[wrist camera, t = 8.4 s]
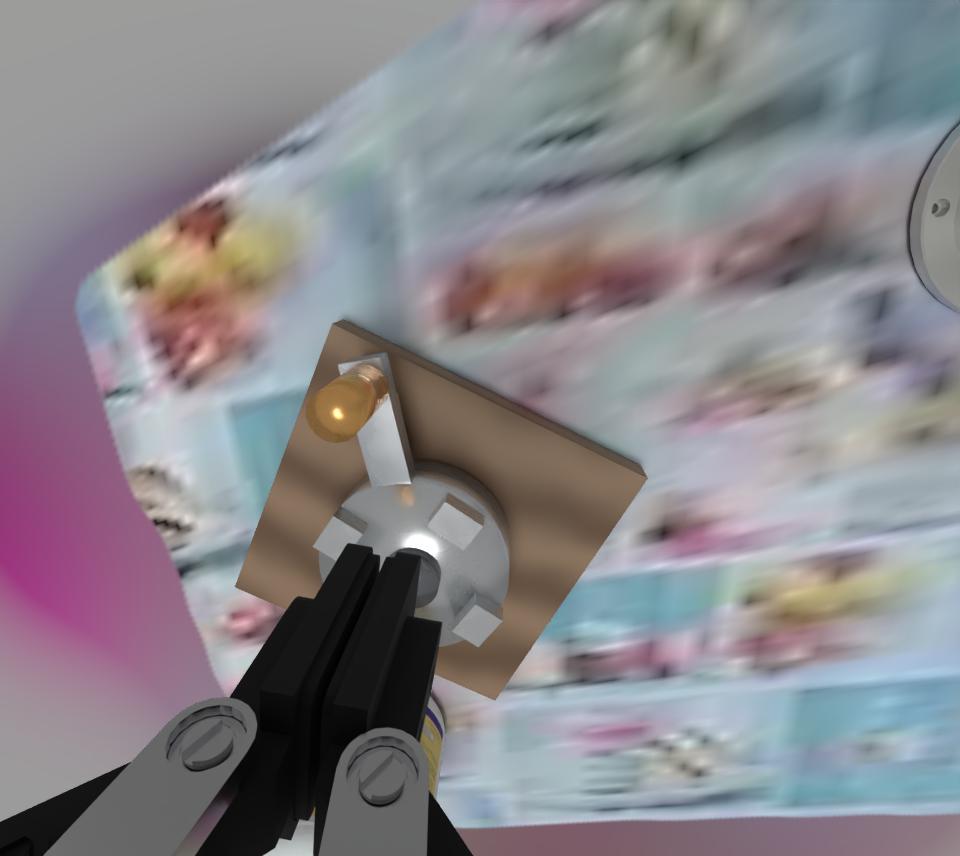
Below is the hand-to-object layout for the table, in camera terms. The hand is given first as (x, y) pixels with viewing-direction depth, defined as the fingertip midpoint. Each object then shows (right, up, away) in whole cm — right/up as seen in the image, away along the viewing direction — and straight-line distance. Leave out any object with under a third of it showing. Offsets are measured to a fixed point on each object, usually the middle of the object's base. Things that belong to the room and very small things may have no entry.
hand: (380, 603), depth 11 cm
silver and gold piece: (-2, 0, +22) cm, 22 cm away
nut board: (-1, -3, +26) cm, 26 cm away
